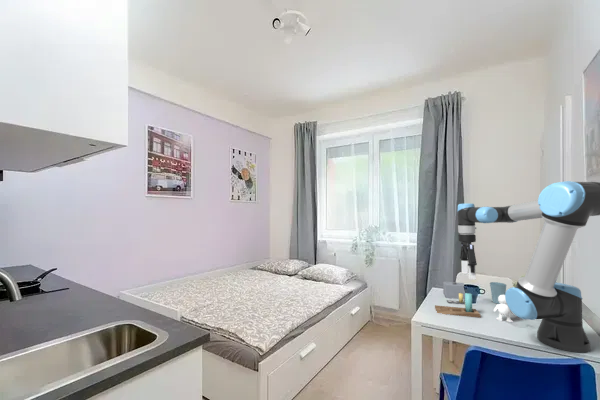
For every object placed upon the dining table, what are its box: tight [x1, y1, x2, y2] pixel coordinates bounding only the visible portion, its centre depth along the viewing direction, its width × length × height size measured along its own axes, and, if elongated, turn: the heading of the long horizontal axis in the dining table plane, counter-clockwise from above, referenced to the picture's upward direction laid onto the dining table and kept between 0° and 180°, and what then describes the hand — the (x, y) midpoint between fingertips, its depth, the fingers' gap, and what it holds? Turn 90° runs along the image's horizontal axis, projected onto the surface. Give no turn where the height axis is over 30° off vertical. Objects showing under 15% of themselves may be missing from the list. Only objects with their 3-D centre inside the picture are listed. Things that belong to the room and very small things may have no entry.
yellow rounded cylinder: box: [446, 293, 465, 305], centre depth 157 cm, size 4×8×5 cm, turn 73°
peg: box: [464, 292, 473, 312], centre depth 141 cm, size 3×3×10 cm
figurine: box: [493, 295, 515, 323], centre depth 132 cm, size 8×5×12 cm, turn 60°
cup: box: [489, 281, 507, 305], centre depth 157 cm, size 8×8×10 cm
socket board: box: [434, 305, 481, 319], centre depth 142 cm, size 8×19×2 cm, turn 72°
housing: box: [442, 281, 466, 300], centre depth 168 cm, size 8×11×8 cm
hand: (468, 276), depth 141 cm, fingers open, 13 cm apart
